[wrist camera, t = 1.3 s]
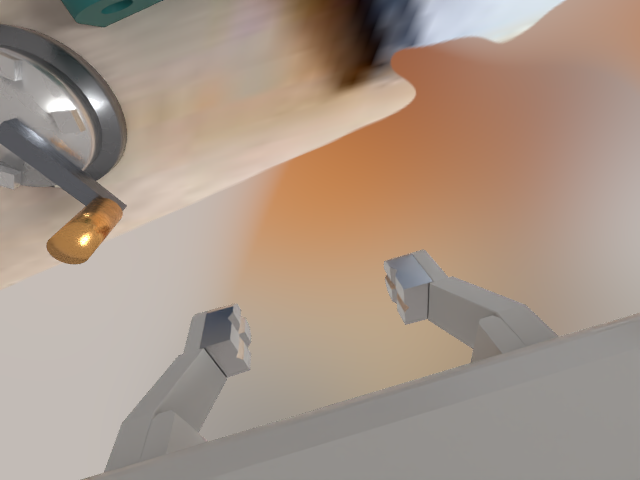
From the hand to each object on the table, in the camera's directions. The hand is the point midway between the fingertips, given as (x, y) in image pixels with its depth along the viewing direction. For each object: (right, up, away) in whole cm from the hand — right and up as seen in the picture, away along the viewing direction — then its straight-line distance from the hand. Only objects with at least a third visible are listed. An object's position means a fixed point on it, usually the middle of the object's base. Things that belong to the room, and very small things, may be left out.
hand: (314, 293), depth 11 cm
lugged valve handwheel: (-27, +12, +19) cm, 35 cm away
